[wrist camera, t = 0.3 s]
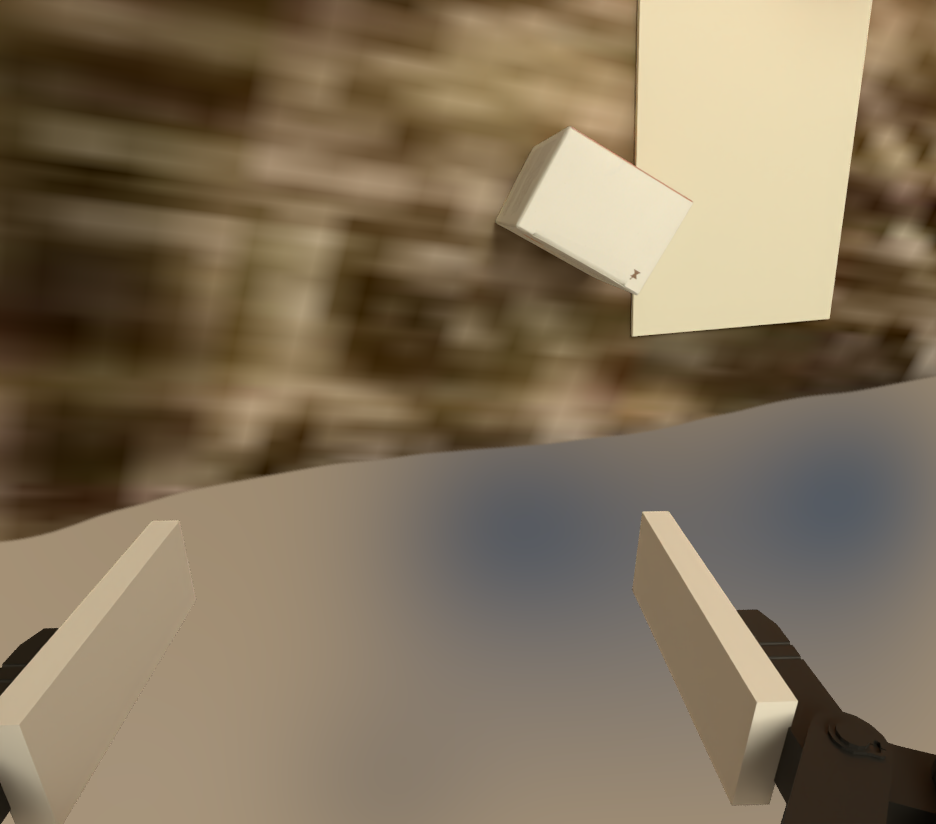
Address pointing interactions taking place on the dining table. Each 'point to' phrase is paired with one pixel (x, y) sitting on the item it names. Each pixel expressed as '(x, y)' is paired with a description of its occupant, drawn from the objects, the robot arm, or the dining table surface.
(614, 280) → the small box
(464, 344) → the dining table surface
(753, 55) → the mat
